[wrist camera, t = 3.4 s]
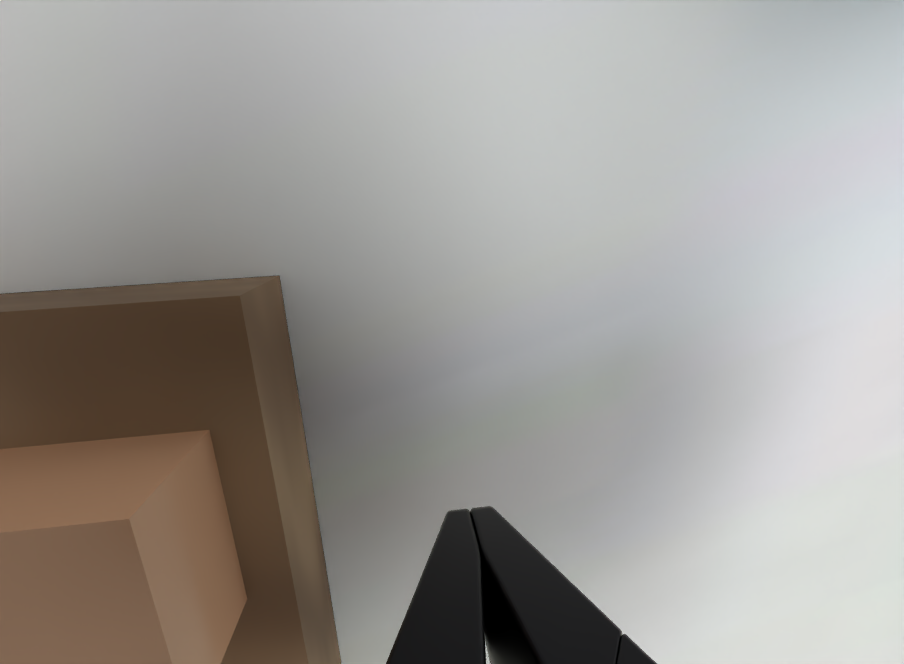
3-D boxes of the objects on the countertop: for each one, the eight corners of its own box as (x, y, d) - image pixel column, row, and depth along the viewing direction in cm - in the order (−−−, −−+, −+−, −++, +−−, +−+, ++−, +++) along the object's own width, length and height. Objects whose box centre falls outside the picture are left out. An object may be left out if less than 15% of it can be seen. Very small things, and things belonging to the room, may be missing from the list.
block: (247, 598, 9) (191, 732, 7) (46, 623, 9) (-85, 773, 7) (209, 429, 8) (129, 518, 6) (-20, 451, 8) (-206, 554, 6)
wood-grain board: (353, 739, 14) (342, 847, 12) (89, 779, 13) (21, 903, 11) (279, 275, 10) (239, 295, 8) (-104, 300, 9) (-277, 331, 7)
